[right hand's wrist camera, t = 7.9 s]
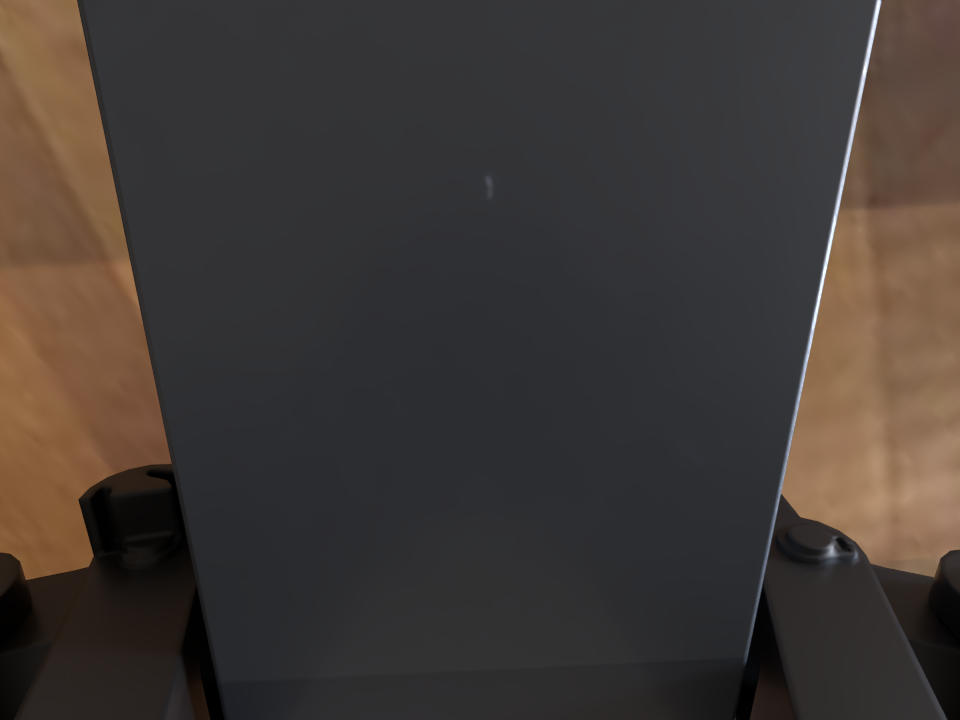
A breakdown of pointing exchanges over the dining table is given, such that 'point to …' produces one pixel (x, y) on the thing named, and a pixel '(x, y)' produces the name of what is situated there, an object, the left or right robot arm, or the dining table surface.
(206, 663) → the right robot arm
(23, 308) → the dining table surface
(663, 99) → the beam
